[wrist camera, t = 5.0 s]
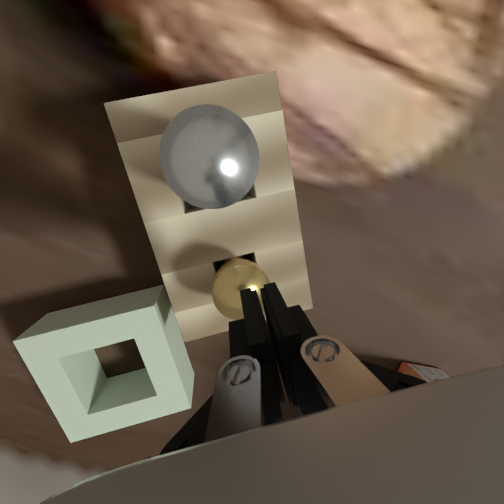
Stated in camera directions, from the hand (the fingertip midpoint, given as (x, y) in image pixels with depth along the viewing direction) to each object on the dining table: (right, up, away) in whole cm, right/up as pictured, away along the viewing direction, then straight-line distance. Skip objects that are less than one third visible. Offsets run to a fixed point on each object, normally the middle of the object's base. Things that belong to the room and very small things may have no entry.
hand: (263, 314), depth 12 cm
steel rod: (-4, +9, +9) cm, 14 cm away
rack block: (-12, -6, +12) cm, 18 cm away
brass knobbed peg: (-2, +2, +11) cm, 12 cm away
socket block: (-3, +6, +10) cm, 12 cm away
